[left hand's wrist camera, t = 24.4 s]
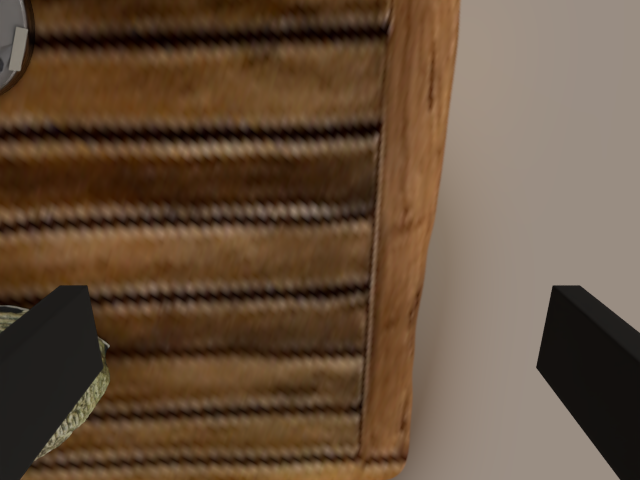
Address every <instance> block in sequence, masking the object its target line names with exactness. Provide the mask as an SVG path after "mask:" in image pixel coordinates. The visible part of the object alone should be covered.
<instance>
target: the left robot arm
mask: <svg viewBox="0 0 640 480" xmlns="http://www.w3.org/2000/svg"><path fill="white" fill-rule="evenodd" d="M34 41H35V22H34V14H33V9H32V5H31V1H30V0H0V95H1V94H3V93H5V92H6V91H8V90H9V89H10V88H12V87H13V86H14V85H15V84H16V83H17V82H18V81H19V79H20V78H21V77H22V75H23V74H24V72H25V70H26V69H27V67H28V65H29V62H30V59H31V56H32V52H33V48H34ZM103 368H104V366H103V361H102V356H101V351H100V346H99V341H98V336H97V331H96V326H95V322H94V317H93V312H92V307H91V302H90V297H89V292H88V287H87V286H59V287H58V288H56V289H55V290H54V291H53V292H51V293H50V294H49V295H48V296H46V297H45V298H44V299H42V300H41V301H40V302H39V303H37V304H36V305H35V306H34V307H32V308H31V309H30V310H29V311H27V312H26V313H25V314H24V315H22V316H21V317H20V318H19V319H17V320H16V321H15V322H14V323H12V324H11V325H10V326H8V327H7V328H6V329H5V330H3V331H2V332H1V333H0V480H20V479H21V477H22V476H23V475H24V473H25V472H26V471H27V469H28V468H29V467H30V465H31V464H32V463H33V461H34V460H35V459H36V457H37V456H38V455H39V453H40V452H41V451H42V449H43V448H44V447H45V445H46V444H47V443H48V441H49V440H50V439H51V437H52V436H53V435H54V433H55V432H56V431H57V429H58V428H59V427H60V425H61V424H62V423H63V421H64V420H65V419H66V417H67V416H68V415H69V413H70V412H71V411H72V409H73V408H74V407H75V405H76V404H77V403H78V401H79V400H80V399H81V397H82V396H83V395H84V393H85V392H86V391H87V389H88V388H89V387H90V385H91V384H92V383H93V381H94V380H95V379H96V377H97V376H98V375H99V373H100V372H101V371H102V369H103ZM536 368H537V369H538V371H539V372H540V373H541V375H542V376H543V377H544V379H545V380H546V381H547V383H548V384H549V385H550V387H551V388H552V389H553V391H554V392H555V393H556V395H557V396H558V397H559V399H560V400H561V401H562V403H563V404H564V405H565V407H566V408H567V409H568V411H569V412H570V413H571V415H572V416H573V417H574V419H575V420H576V421H577V423H578V424H579V425H580V427H581V428H582V429H583V431H584V432H585V433H586V435H587V436H588V437H589V439H590V440H591V441H592V443H593V444H594V445H595V447H596V448H597V449H598V451H599V452H600V453H601V455H602V456H603V457H604V459H605V460H606V461H607V463H608V464H609V465H610V467H611V468H612V469H613V471H614V472H615V473H616V475H617V476H618V477H619V479H620V480H640V333H639V332H638V331H637V330H635V329H634V328H633V327H632V326H630V325H629V324H628V323H626V322H625V321H624V320H623V319H621V318H620V317H619V316H618V315H616V314H615V313H614V312H613V311H611V310H610V309H609V308H608V307H606V306H605V305H604V304H602V303H601V302H600V301H599V300H598V299H596V298H595V297H594V296H592V295H591V294H590V293H589V292H587V291H586V290H585V289H584V288H582V287H581V286H553V287H552V292H551V297H550V302H549V307H548V312H547V317H546V322H545V326H544V331H543V337H542V341H541V347H540V351H539V356H538V361H537V366H536Z"/></svg>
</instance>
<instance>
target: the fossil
mask: <svg viewBox="0 0 640 480" xmlns="http://www.w3.org/2000/svg"><path fill="white" fill-rule="evenodd" d="M27 311H29V310H28V309H25V308H20V307H16V306H9V305H6V306H1V305H0V333H1V332H2V331H3V330H5V329H6V328H7V327H8V326H10V325H11V324H12V323H14V322H15V321H16V320H17V319H19V318H20V317H21V316H22V315H24V314H25V313H26V312H27ZM98 341H99V346H100V351H101V356H102V361H103V366H104V368H103V369H102V371H101V372H100V373H99V375H98V376H97V377H96V379H95V380H94V381H93V383H92V384H91V385H90V387H89V388H88V389H87V391H86V392H85V393H84V395H83V396H82V397H81V399H80V400H79V401H78V403H77V404H76V405H75V407H74V408H73V409H72V411H71V412H70V413H69V415H68V416H67V417H66V419H65V420H64V421H63V423H62V424H61V425H60V427H59V428H58V429H57V431H56V432H55V433H54V435H53V436H52V437H51V439H50V440H49V441H48V443H47V444H46V445H45V447H44V448H43V449H42V451H41V452H40V453H39V455H38V456H37V457H36V459H35V460H37V459H38V458H39V457H42V456H44V455H45V454H47V453H48V452H50V451H51V450H53V449H54V448H56V447H58V446H59V445H60V444H62V443H63V442H64V441H65V440H66V439H67V438H68V437H70V435H71V434H72V432H73V430H75V429H76V428H78V427H79V426H80V425H81V424H82V423H83V422H85V420H86V418H87V417H88V416H89V414H90V413H91V412H92V411H93V409H94V408H95V406H96V405H97V403H98V401H99V400H100V399H101V397H102V396H103V394H104V392H105V391H106V389H107V386H108V384H109V382H110V373H109V370H108V367H107V364H106V359H105V355H106V351H107V349H108V348H109V346H110V345H109V344H108V343H106V342H105V341H104V340H102V339H101V338H99V337H98ZM35 460H34V461H35Z"/></svg>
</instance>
